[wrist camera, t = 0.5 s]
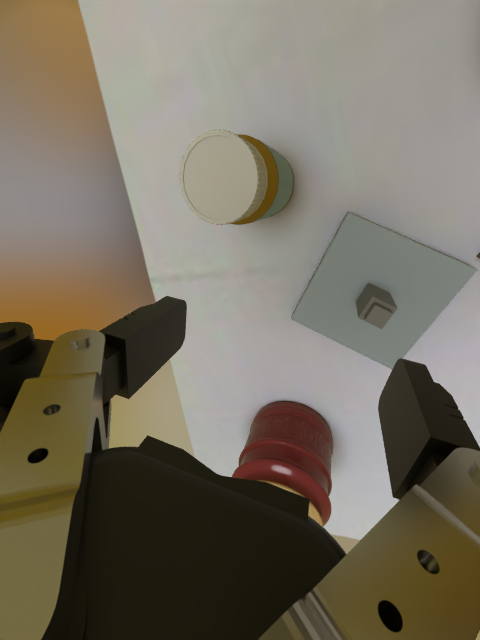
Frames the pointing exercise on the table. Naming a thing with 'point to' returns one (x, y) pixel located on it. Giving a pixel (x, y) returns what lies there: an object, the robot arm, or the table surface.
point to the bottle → (234, 178)
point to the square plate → (378, 290)
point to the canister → (291, 454)
